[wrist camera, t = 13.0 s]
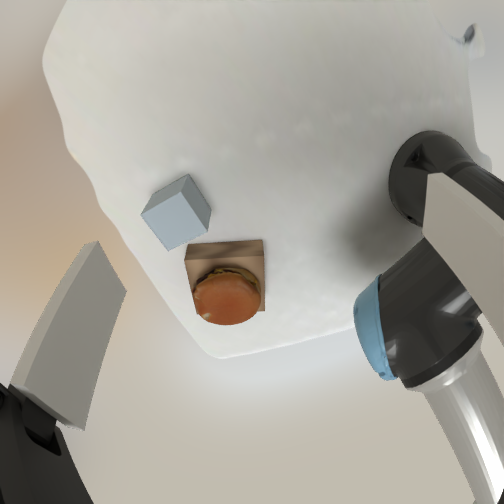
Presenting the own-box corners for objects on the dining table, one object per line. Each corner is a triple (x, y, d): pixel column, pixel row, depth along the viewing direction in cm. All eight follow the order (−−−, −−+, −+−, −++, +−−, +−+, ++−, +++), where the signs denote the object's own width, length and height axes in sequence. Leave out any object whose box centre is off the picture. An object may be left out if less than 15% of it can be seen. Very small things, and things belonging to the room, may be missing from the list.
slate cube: (188, 173, 36) (180, 191, 31) (211, 209, 39) (207, 231, 34) (152, 194, 37) (140, 215, 32) (175, 227, 40) (167, 251, 36)
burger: (273, 284, 42) (276, 307, 38) (233, 317, 46) (233, 340, 42) (219, 249, 38) (217, 271, 34) (182, 288, 42) (177, 311, 38)
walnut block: (261, 237, 43) (264, 255, 39) (262, 291, 49) (264, 311, 46) (188, 242, 43) (184, 260, 39) (199, 295, 49) (196, 314, 45)
